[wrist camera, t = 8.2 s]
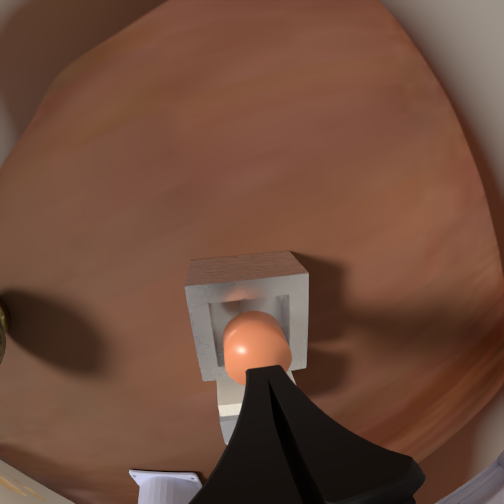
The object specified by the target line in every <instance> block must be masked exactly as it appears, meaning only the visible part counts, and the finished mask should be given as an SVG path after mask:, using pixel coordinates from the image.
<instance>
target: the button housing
mask: <svg viewBox="0 0 504 504" xmlns="http://www.w3.org/2000/svg"><path fill="white" fill-rule="evenodd" d="M185 292H186V298H187V303H188V309H189V315H190V320H191V326H192V331H193V336H194V341H195V346H196V351H197V356H198V360H199V365H200V370H201V374H202V379H203V381H213V380H224V379H232V378H231V377H230V376H229V375H228V373H227V371H226V368H225V359H224V345H223V332H224V329H225V327H226V325H227V324H228V322H229V321H230V320H231V319H232V318H234V317H235V316H237V315H239V314H241V313H244V312H247V311H262V312H265V313H268V314H270V315H272V316H273V317H274V318H275V319H276V320H277V321H278V322H279V324H280V326H281V329H282V331H283V334H284V336H285V338H286V341H287V343H288V346H289V348H290V350H291V354H292V362H291V365H290V367H289V369H288V371H292V370H298V369H304V368H306V362H307V339H308V303H309V273H308V272H307V271H306V269H305V268H304V267H303V266H302V265H301V264H300V263H299V261H298V260H297V259H296V258H295V257H294V256H293V255H292V254H291V252H290V251H281V252H271V253H261V254H251V255H241V256H231V257H221V258H211V259H200V260H191V263H190V267H189V270H188V275H187V279H186V283H185Z"/></svg>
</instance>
